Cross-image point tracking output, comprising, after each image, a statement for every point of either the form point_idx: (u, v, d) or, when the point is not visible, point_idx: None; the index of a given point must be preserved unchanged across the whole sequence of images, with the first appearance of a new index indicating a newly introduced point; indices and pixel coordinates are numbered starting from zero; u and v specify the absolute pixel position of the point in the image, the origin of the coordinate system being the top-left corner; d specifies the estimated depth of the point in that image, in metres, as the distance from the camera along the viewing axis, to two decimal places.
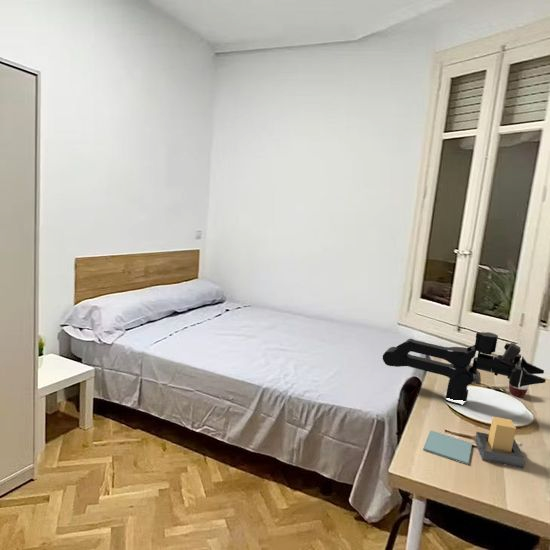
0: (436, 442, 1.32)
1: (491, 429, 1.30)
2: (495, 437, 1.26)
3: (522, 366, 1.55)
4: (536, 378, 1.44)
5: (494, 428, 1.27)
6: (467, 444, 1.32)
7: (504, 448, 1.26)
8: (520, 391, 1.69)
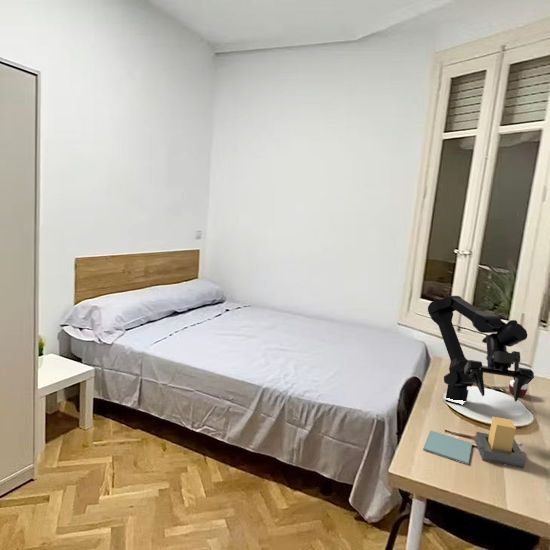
0: (436, 442, 1.32)
1: (491, 429, 1.30)
2: (495, 437, 1.26)
3: (516, 381, 1.37)
4: (480, 386, 1.37)
5: (494, 428, 1.27)
6: (467, 444, 1.32)
7: (504, 448, 1.26)
8: (520, 391, 1.69)
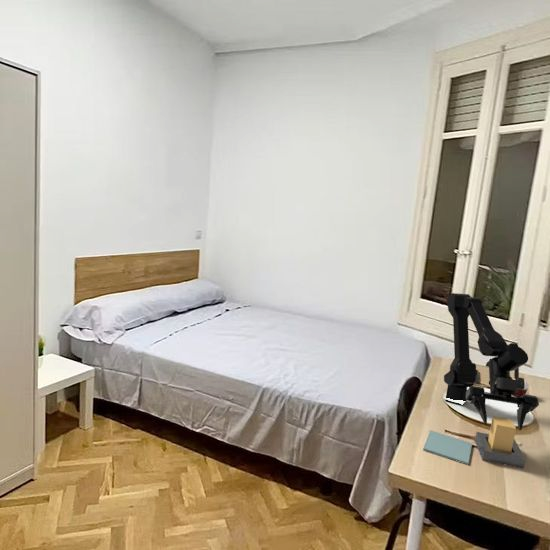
0: (436, 442, 1.32)
1: (491, 429, 1.30)
2: (495, 437, 1.26)
3: (520, 408, 1.31)
4: (482, 413, 1.31)
5: (494, 428, 1.27)
6: (467, 444, 1.32)
7: (504, 448, 1.26)
8: (520, 391, 1.69)
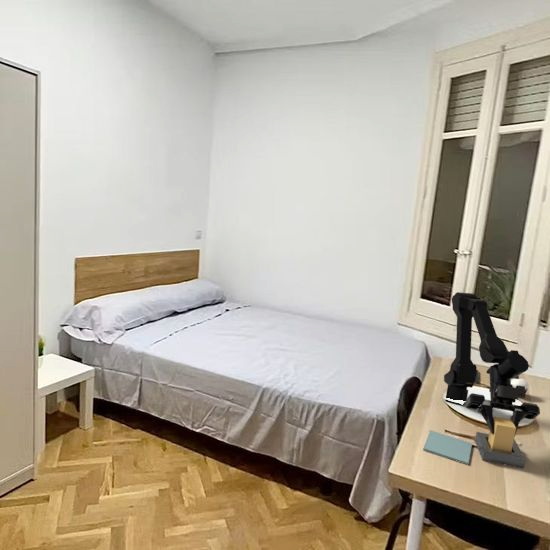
0: (436, 442, 1.32)
1: None
2: (495, 437, 1.26)
3: (513, 415, 1.30)
4: (489, 423, 1.29)
5: (494, 428, 1.27)
6: (467, 444, 1.32)
7: (504, 448, 1.26)
8: None
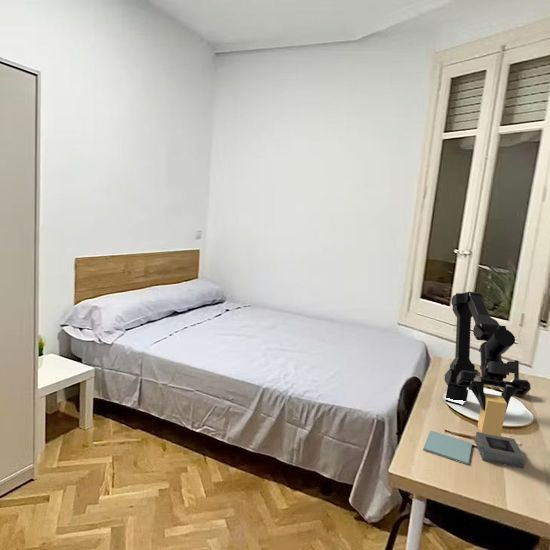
0: (436, 442, 1.32)
1: None
2: (486, 413, 1.25)
3: (504, 391, 1.29)
4: (480, 399, 1.28)
5: (485, 404, 1.26)
6: (467, 444, 1.32)
7: (495, 424, 1.25)
8: None
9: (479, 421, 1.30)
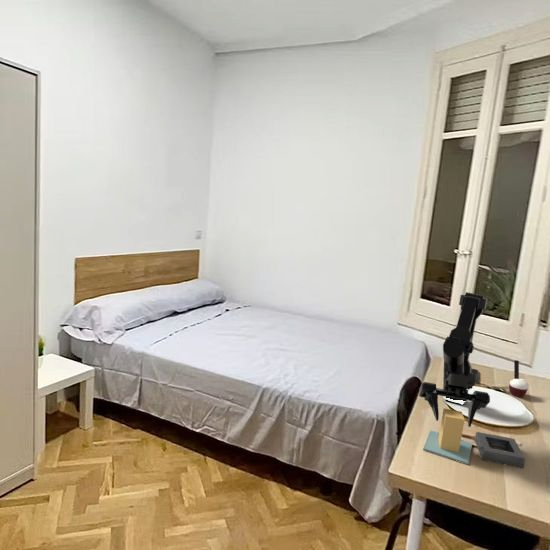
0: (436, 442, 1.32)
1: (442, 421, 1.31)
2: (444, 428, 1.27)
3: (471, 404, 1.30)
4: (434, 410, 1.30)
5: (444, 420, 1.28)
6: (467, 444, 1.32)
7: (453, 440, 1.27)
8: (520, 391, 1.69)
9: (439, 436, 1.32)
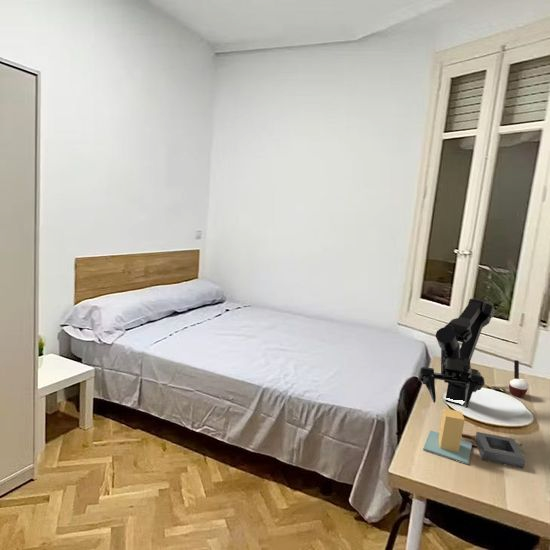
0: (436, 442, 1.32)
1: (442, 421, 1.31)
2: (444, 428, 1.27)
3: (467, 387, 1.39)
4: (431, 393, 1.39)
5: (444, 420, 1.28)
6: (467, 444, 1.32)
7: (453, 440, 1.27)
8: (520, 391, 1.69)
9: (439, 436, 1.32)
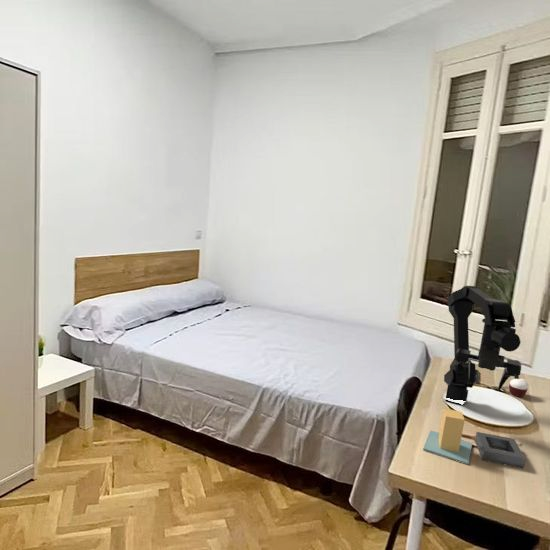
0: (436, 442, 1.32)
1: (442, 421, 1.31)
2: (444, 428, 1.27)
3: (504, 371, 1.41)
4: (465, 374, 1.46)
5: (444, 420, 1.28)
6: (467, 444, 1.32)
7: (453, 440, 1.27)
8: (520, 391, 1.69)
9: (439, 436, 1.32)
